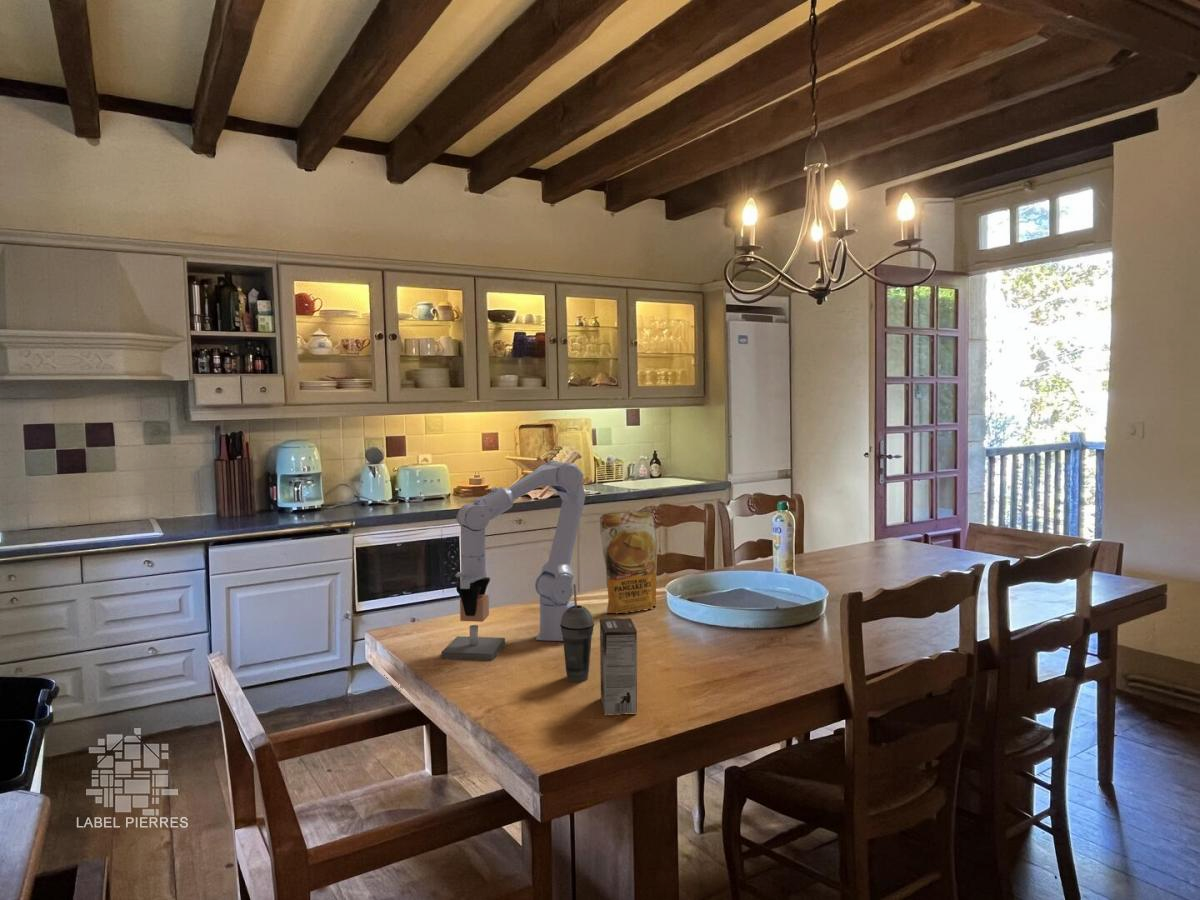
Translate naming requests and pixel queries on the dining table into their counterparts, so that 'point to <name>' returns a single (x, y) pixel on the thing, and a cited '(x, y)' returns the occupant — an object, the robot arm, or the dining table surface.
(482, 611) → the collar
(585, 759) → the dining table surface
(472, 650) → the post board
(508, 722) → the dining table surface
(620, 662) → the coffee box
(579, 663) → the beverage cup
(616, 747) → the dining table surface
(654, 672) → the dining table surface
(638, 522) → the pancake mix bag
